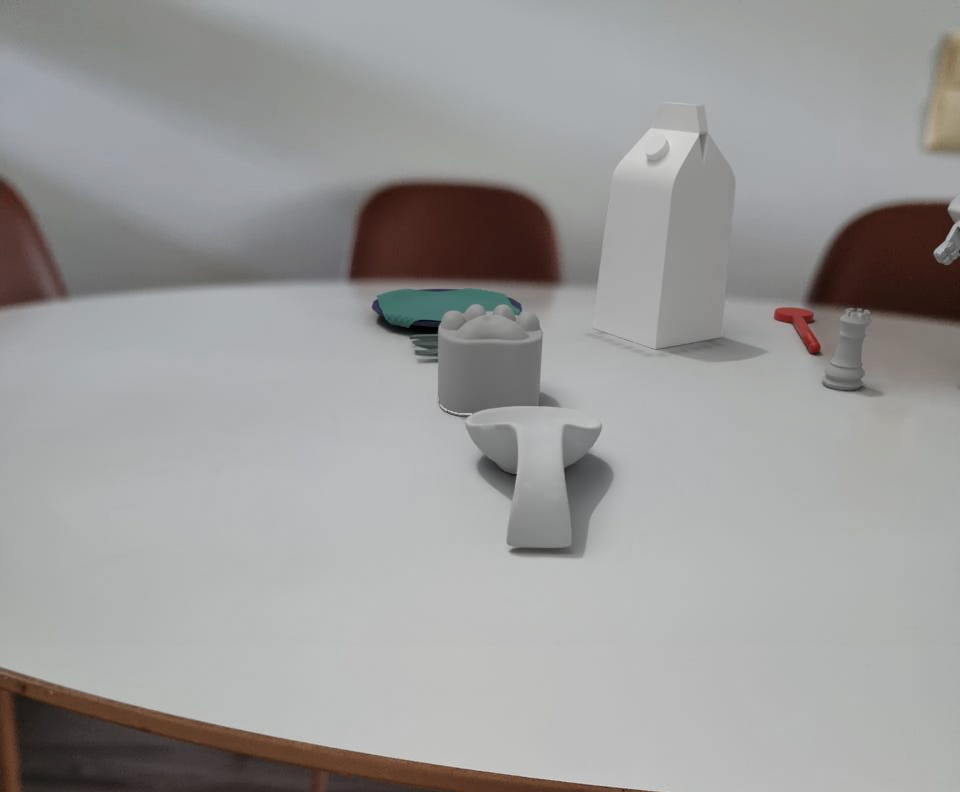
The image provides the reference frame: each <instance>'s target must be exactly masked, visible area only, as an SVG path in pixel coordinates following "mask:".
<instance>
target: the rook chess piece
mask: <svg viewBox="0 0 960 792" xmlns="http://www.w3.org/2000/svg"><path fill="white" fill-rule="evenodd" d="M870 314H871V312H870V310H868V309H864V310H863V308H857V309H856V312H855V308H854V307H849V308H845V310H844V313H843V314H842V316H841V317H840V318H839V321H840V323H841V325H842V327H841V330H840V332H838V335H839V339H838V344H837V346H836V349H835V352H834V355H833V357H832V359H830V360H829V363H828V364H827V365H826V366H825V367H824V369H823V372H824V374H825V375H823V376H822V377H821V381H822V383H823V385H824V386H825V387H827V388H830V389H833V390H839V391H856V390H858V389H860V388H861V387H862V386H863V385H864V382H863V380H862V378H864V377H865V375H866V374H865V373H866V372H865V370H864V368H863V366H864V364H863V362H862V352H863V343H864V339H865V338H866V337H867V334H866V329H867V327H868V326H869V325H870V324H872V322H873V321H872V318H871V317H870Z"/></svg>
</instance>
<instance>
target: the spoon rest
mask: <svg viewBox="0 0 960 792" xmlns="http://www.w3.org/2000/svg"><path fill="white" fill-rule="evenodd" d="M464 424H465V425H464V426H465V429H466V431H467V434H468V435H469V438H470V439H471V440H472V442H473V443H474V445H475V446H476V447H477V448H478V450H479V451H480V452H481V453H483V455H485V456H486V457H487V458H488V459H490V460H491V461H493V462H494V463H495V464H496V466H497V467H498V466H499V467H500V468H501V469H500V468H499V467H498V468H499V469H500V470H502V469H503V470H502V471H504V472H505V473H508V472H509V473H508V474H511V473H513V474H512V475H515V474H517V475H515V483H514V490H513V495H512V499H511V500H512V501H511V506H510V511H509V518H508V523H507V530H506V544H507V545H508V546H510V547H514V548H540V549H541V548H542V549H563V548H564V549H565V548H570V547H571V546H572V542H573V534H572V519H571V510H570V505H569V498H568V492H567V491H568V490H567V484H566V475H565V469H566V468H567V467H569V466H571V465H572V464H574V463H576V462H577V461H579V460H580V459H582V458H583V457H584V456H586V454H588V452H589V451H590V450H591V449H592V448H593V447H594V445H595V444H596V442H597V440H598V439H599V437H600V435H601V433H602V430H603V424H602V421H601V420H600V419H599V418H597V417H595V416H593V415H591V414H590V413H587V412H583V411H580V410H576V409H573V408H567V407H556V406H545V405H543V406H540V405H539V406H512V407H501V408H493V409H487V410H482V411H479V412H476V413H474V414H472V415H470V416H467V417H466V419H465V421H464ZM506 471H507V472H506Z"/></svg>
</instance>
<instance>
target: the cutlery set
mask: <svg viewBox="0 0 960 792" xmlns="http://www.w3.org/2000/svg"><path fill="white" fill-rule="evenodd" d="M474 304H478V305H481V306H482V307H483V308H484V309H485V311H494V309H495V308H496V307H497V306H499V305H508V306H509V307H510V308H511V309H512V311H513V313H514V315H517V316H519V315H520V314H521V313H522V311H523V307H522V303H520V302H518V301H517V300H515V299H514V298H513V297H509V296H508V295H507V294H506V293H501V292H498V291H493V290H488V289H481V288H471V287H466V288H424V289H423V288H421V289H414V288H400V289H395V290H390V291H386V292H383V293H380V294H377V295H376V299H374V300H373V301H372V304H371V309H372V310H373V311H374V312H375V313H376V314H377V315H379V316H381V317H383V318H385V320H386V321H387V323H389V324H390V325H394V326H399V327H403V328H408V329H409V328H410V326H411V325H413V326H419V327H421V326H422V327H428V328H429V327H431V328H439V325H440V323H441V321H442V318H443V316H444V314H445V313H446V312H448V311H459V312H460V313H461V314H464V313H465V311H466V310H467V309H468V308H469V307H470V306H472V305H474ZM408 338H409V340H411V341H410V342H411V344H412V345H414V346H416V347H419V348H422V349H414V353H415V354H416V355H417V356H424V357H425V356H438V333H431V334H429V333H428V334H427V333H426V334H424V333H423V334H412V335H409V337H408Z"/></svg>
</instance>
